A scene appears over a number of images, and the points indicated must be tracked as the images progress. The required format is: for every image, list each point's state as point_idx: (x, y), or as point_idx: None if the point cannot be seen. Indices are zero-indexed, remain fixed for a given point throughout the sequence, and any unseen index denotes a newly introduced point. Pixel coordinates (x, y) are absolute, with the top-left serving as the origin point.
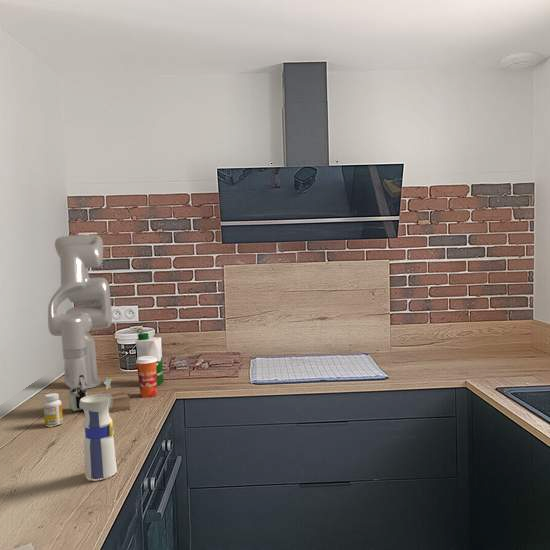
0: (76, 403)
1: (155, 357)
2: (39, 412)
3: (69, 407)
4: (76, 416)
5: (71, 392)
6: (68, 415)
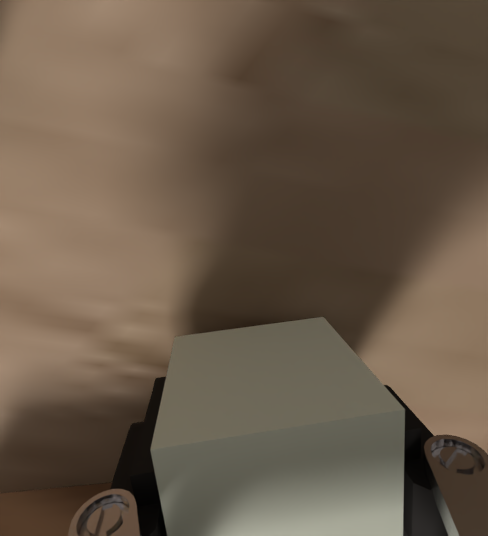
0: None
1: None
2: (476, 43)
3: (318, 317)
4: (81, 326)
5: (399, 456)
6: (165, 270)
